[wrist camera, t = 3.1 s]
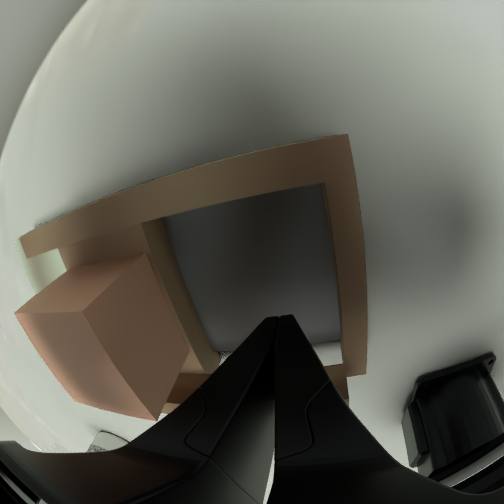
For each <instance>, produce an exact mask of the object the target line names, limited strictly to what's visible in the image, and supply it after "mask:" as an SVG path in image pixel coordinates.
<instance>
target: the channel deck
mask: <svg viewBox="0 0 504 504" xmlns="http://www.w3.org/2000/svg"><path fill="white" fill-rule="evenodd" d="M13 242H14V245H15V247H16V250H17V253H18V255H19V258H20V260H21V263H22V265H23V267H24V270H25V272H26V274H27V277H28V279H29V281H30V283H31V285H32V287H33V289H34V291H35V294H37V293H39V292H40V291H41V290H42V289H44V288H45V287H46V286H48V285H49V284H50V283H51V282H53V281H54V280H55V279H57V278H58V277H59V276H61V275H62V274H63V273H65V272H66V271H67V270H69V269H72V268H76V267H81V266H85V265H90V264H94V263H99V262H103V261H108V260H113V259H117V258H122V257H127V256H132V255H136V254H141V253H146V254H147V257H148V260H149V262H150V265H151V267H152V270H153V272H154V275H155V277H156V280H157V282H158V285H159V287H160V289H161V292H162V294H163V296H164V299H165V301H166V303H167V306H168V308H169V310H170V312H171V314H172V317H173V319H174V321H175V323H176V325H177V328H178V330H179V332H180V334H181V336H182V338H183V340H184V342H185V344H186V346H187V348H188V350H189V354H188V356H187V358H186V360H185V362H184V364H183V367H182V369H181V371H180V373H179V375H178V377H177V379H176V381H175V384H174V386H173V388H172V390H171V392H170V394H169V396H168V399H167V401H166V403H165V405H164V407H163V409H162V412H161V413H167V414H169V413H170V412H172V411H173V410H174V409H175V408H176V407H178V406H179V405H180V404H181V403H182V402H183V401H184V400H185V399H186V398H188V397H189V396H190V395H191V394H192V393H193V392H194V391H195V390H196V389H197V388H200V385H201V384H202V383H203V382H204V381H205V380H206V379H207V378H208V377H209V376H210V375H211V374H212V373H213V372H214V371H215V370H216V369H217V368H218V367H219V364H220V361H221V359H220V356H219V354H218V352H224V351H235V350H236V349H237V347H238V346H239V345H240V344H241V343H242V342H243V341H244V340H245V339H246V338H247V337H248V336H249V335H250V334H251V333H252V332H253V330H254V329H255V328H256V327H257V326H258V325H259V324H260V323H261V322H262V321H263V320H264V319H265V318H266V317H272V316H279V317H280V316H281V315H288V314H293V315H294V317H295V318H296V320H297V322H298V323H299V325H300V327H301V328H302V330H303V332H304V334H305V335H306V337H307V339H308V340H309V342H310V344H315V343H322V342H329V341H336V340H341V352H342V359H343V364H337V365H330V366H324V368H325V370H326V371H327V373H328V375H329V376H330V378H331V380H332V382H333V383H334V385H335V386H336V388H337V390H338V391H339V393H340V395H341V396H342V398H343V399H344V401H345V402H346V404H347V405H348V406H349V395H348V386H347V378H346V377H351V376H357V375H363V374H366V364H367V283H366V265H365V251H364V239H363V229H362V220H361V212H360V204H359V196H358V189H357V183H356V176H355V170H354V164H353V159H352V154H351V148H350V143H349V138H348V134H343V135H334V136H327V137H321V138H315V139H311V140H307V141H302V142H296V143H291V144H286V145H281V146H276V147H271V148H267V149H262V150H258V151H253V152H249V153H245V154H241V155H237V156H233V157H229V158H225V159H221V160H217V161H214V162H210V163H207V164H203V165H199V166H196V167H193V168H189V169H186V170H183V171H179V172H176V173H173V174H170V175H167V176H164V177H161V178H158V179H153V180H150V181H147V182H144V183H141V184H138V185H136V186H133V187H130V188H127V189H125V190H122V191H119V192H117V193H114V194H112V195H109V196H106V197H104V198H101V199H99V200H97V201H94V202H92V203H89V204H87V205H85V206H82V207H80V208H78V209H75V210H73V211H71V212H69V213H66V214H64V215H62V216H60V217H58V218H56V219H53V220H51V221H49V222H47V223H45V224H43V225H41V226H39V227H37V228H35V229H33V230H31V231H29V232H27V233H26V234H24V235H22V236H20V237H18V238H17V239H15V240H13Z"/></svg>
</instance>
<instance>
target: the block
mask: <svg viewBox="0 0 504 504" xmlns="http://www.w3.org/2000/svg"><path fill="white" fill-rule="evenodd" d="M15 315H16V317H17V319H18V321H19V323H20V324H21V326H22V328H23V329H24V331H25V333H26V334H27V336H28V338H29V339H30V341H31V343H32V344H33V346H34V347H35V349H36V350H37V352H38V353H39V355H40V356H41V358H42V359H43V361H44V362H45V363H46V365H47V366H48V368H49V369H50V370H51V372H52V373H53V374H54V376H55V377H56V378H57V380H58V381H59V382H60V384H61V385H62V386H63V387H64V389H65V390H66V391H67V392H68V393H69V395H70V396H71V397H72V398H73V399H74V401H76V402H79V403H83V404H86V405H89V406H93V407H96V408H100V409H103V410H107V411H111V412H115V413H119V414H123V415H128V416H132V417H137V418H142V419H147V420H153V421H157V420H158V418H159V416H160V414H161V412H162V409H163V407H164V405H165V403H166V401H167V399H168V396H169V394H170V392H171V390H172V388H173V386H174V384H175V381H176V379H177V377H178V375H179V373H180V371H181V369H182V367H183V364H184V362H185V360H186V358H187V356H188V354H189V350H188V348H187V346H186V344H185V342H184V340H183V338H182V336H181V334H180V332H179V330H178V328H177V325H176V323H175V321H174V319H173V317H172V314H171V312H170V310H169V308H168V306H167V303H166V301H165V299H164V296H163V294H162V292H161V289H160V287H159V285H158V282H157V280H156V277H155V275H154V272H153V270H152V267H151V265H150V262H149V260H148V257H147V254H146V253H141V254H136V255H132V256H127V257H122V258H117V259H113V260H108V261H103V262H99V263H94V264H90V265H85V266H81V267H76V268H72V269H69V270H67V271H66V272H65V273H63V274H62V275H61V276H59V277H58V278H57V279H55V280H54V281H53V282H51V283H50V284H49V285H48V286H46V287H45V288H44V289H42V290H41V291H40V292H39V293H37V294H36V295H35V296H34V297H33V298H31V299H30V300H29V301H28V302H27V303H25V304H24V305H23V306H22V307H21V308H19V309H18V310H17V311H16V312H15Z"/></svg>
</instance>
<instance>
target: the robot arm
mask: <svg viewBox="0 0 504 504" xmlns="http://www.w3.org/2000/svg"><path fill="white" fill-rule="evenodd" d="M495 361H496V356H495V355H494V353H490V354H487V355H485V356H483V357H480V358H478V359H475V360H472V361H470V362H467V363H464V364H461V365H459V366H456V367H453V368H450V369H447V370H444V371H440V372H437V373H434V374H431V375H427V376H424V377H421V378H420V379H418V380H417V381H416V383H415V387H414V391H413V394H412V397H411V401H410V402H409V404H408V405H407V407H406V410H405V413H404V417H403V420H402V428H403V433H404V438H405V443H406V449H407V454H408V460H409V466H410V467H412V468H414V467H418V473H417V472H415V471H413V470H411V469H409V468H407V467H405V466H403V465H402V464H400V463H399V462H398V461H396V460H395V459H394V458H393V457H392V456H391V455H390V454H389V453H388V452H387V451H386V450H385V449H384V448H383V447H382V446H381V444H380V443H379V442H378V441H377V440H376V439H375V438H374V436H373V435H372V434H371V433H370V432H369V431H368V430H367V428H366V427H365V426H364V425H363V424H362V423H361V421H360V420H359V419H358V418H357V417H356V415H355V414H354V413H353V412H352V410H351V409H350V408H349V406H348V405H347V404H346V402H345V401H344V399H343V398H342V396H341V395H340V393H339V391H338V390H337V388H336V386H335V385H334V383H333V382H332V380H331V378H330V376H329V375H328V373H327V371H326V370H325V368H324V366H323V364H322V363H321V361H320V359H319V358H318V356H317V354H316V352H315V351H314V349H313V347H312V346H311V344H310V342H309V340H308V339H307V337H306V335H305V334H304V332H303V330H302V328H301V327H300V325H299V323H298V322H297V320H296V318H295V317H294V315H293V314H288V315H281V316H280V317H279V316H272V317H266V318H265V319H264V320H263V321H262V322H261V323H260V324H259V325H258V326H257V327H256V328H255V329H254V330H253V332H252V333H251V334H250V335H249V336H248V337H247V338H246V339H245V340H244V341H243V342H242V343H241V344H240V345H239V346H238V347H237V349H236V350H235V351H234V352H233V353H232V354H231V355H230V356H229V357H228V358H227V359H226V360H225V361H224V362H223V363H222V364H221V365H220V366H219V367H218V368H217V369H216V370H215V371H214V372H213V373H212V374H211V375H210V376H209V377H208V378H207V379H206V380H205V381H204V382H203V383H202V384H201V385H200V388H197V389H196V390H195V391H194V392H193V393H192V394H191V395H190V396H189V397H188V398H186V399H185V400H184V401H183V402H182V403H181V404H180V405H179V406H178V407H176V408H175V409H174V410H173V411H172V412H170V413H169V414H168V415H167V416H165V417H164V418H163V419H161V420H160V421H159V422H157V423H156V424H155V425H153V426H152V427H151V428H149V429H148V430H146V431H145V432H144V433H142V434H141V435H139V436H138V437H137V438H135V439H134V440H132V441H131V442H129V443H128V444H126V445H124V446H122V447H120V448H117V449H114V450H109V451H101V452H85V453H41V452H34V451H30V450H27V449H25V448H23V447H22V446H21V445H20V444H18V443H17V442H16V441H0V504H263V500H264V495H265V491H266V486H267V482H268V477H269V472H270V467H271V462H272V457H273V452H274V447H275V452H274V460H275V464H274V478H273V484H272V488H271V491H270V494H269V498H268V501H267V504H504V456H502V455H504V401H503V399H502V397H501V395H500V393H499V391H498V389H497V387H496V385H495V383H494V381H493V379H492V377H491V375H490V372H491V370H492V367H493V365H494V363H495ZM501 456H502V457H501ZM499 457H501V458H499ZM498 458H499V459H498ZM497 459H498V460H497ZM495 460H496V461H495ZM494 461H495V462H494ZM492 462H493V463H492ZM491 463H492V464H491ZM489 464H490V465H489ZM487 465H489V466H487ZM486 466H487V467H486ZM484 467H486V468H484ZM483 468H484V469H483ZM481 469H483V470H481ZM479 470H481V471H479ZM478 471H479V472H478ZM476 472H478V473H476ZM474 473H476V474H474ZM473 474H474V475H473ZM471 475H473V476H471ZM469 476H471V477H469ZM467 477H469V478H467ZM466 478H467V479H466ZM464 479H466V480H464ZM462 480H464V481H462ZM460 481H462V482H460ZM458 482H460V483H458ZM456 483H458V484H456ZM455 484H456V485H455ZM453 485H454V486H453ZM451 486H452V487H451Z"/></svg>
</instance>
